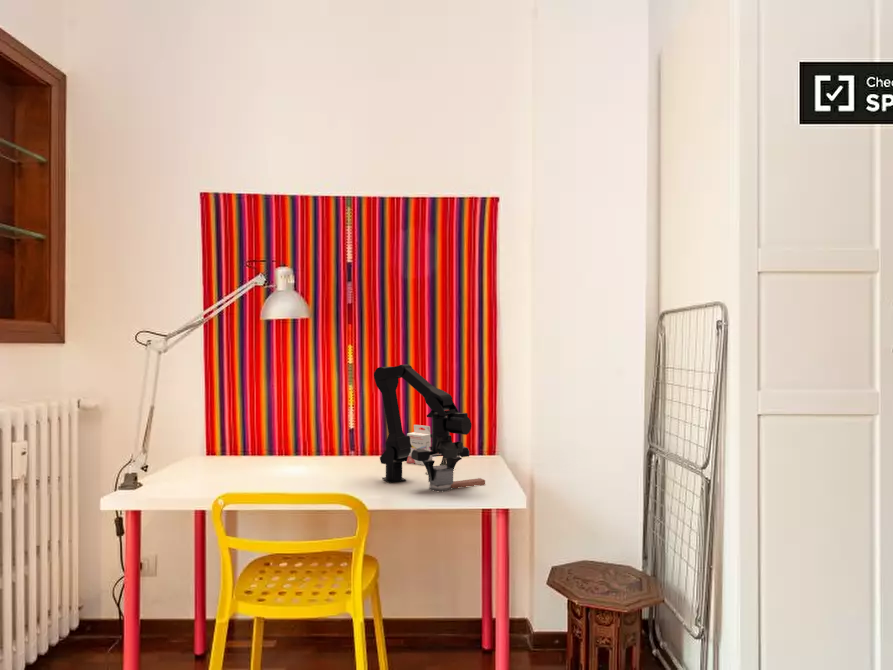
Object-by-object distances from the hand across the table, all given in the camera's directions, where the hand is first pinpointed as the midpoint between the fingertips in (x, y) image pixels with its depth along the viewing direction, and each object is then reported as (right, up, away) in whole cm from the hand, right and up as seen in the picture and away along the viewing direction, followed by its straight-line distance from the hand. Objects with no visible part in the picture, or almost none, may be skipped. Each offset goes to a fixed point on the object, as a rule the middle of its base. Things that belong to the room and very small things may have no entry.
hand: (440, 479), depth 205 cm
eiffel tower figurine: (+1, -4, +26) cm, 27 cm away
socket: (0, -1, 0) cm, 1 cm away
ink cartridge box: (-9, -3, +41) cm, 43 cm away
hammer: (+6, -3, +3) cm, 7 cm away
